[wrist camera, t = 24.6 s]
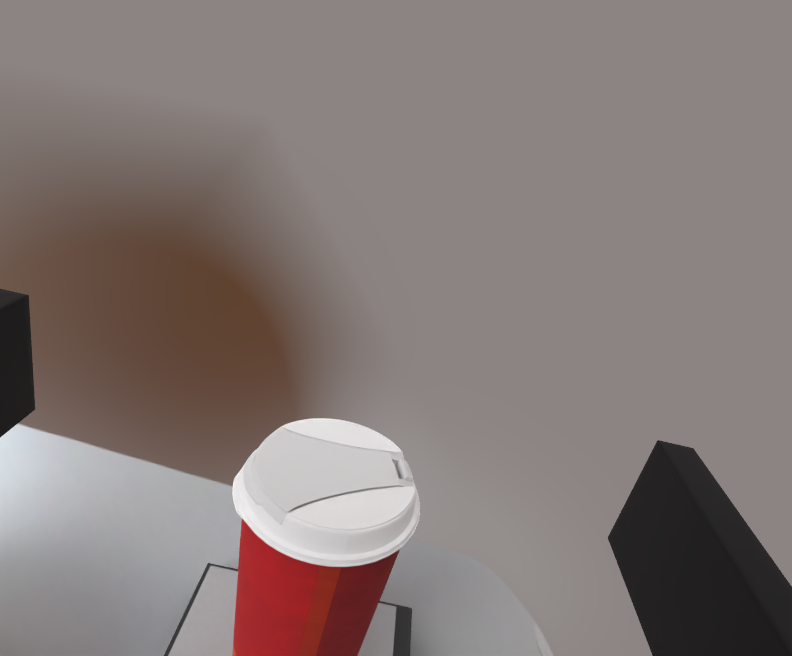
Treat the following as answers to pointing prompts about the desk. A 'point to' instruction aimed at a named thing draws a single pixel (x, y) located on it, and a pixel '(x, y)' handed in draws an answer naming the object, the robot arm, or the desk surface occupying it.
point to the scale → (215, 616)
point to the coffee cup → (318, 537)
